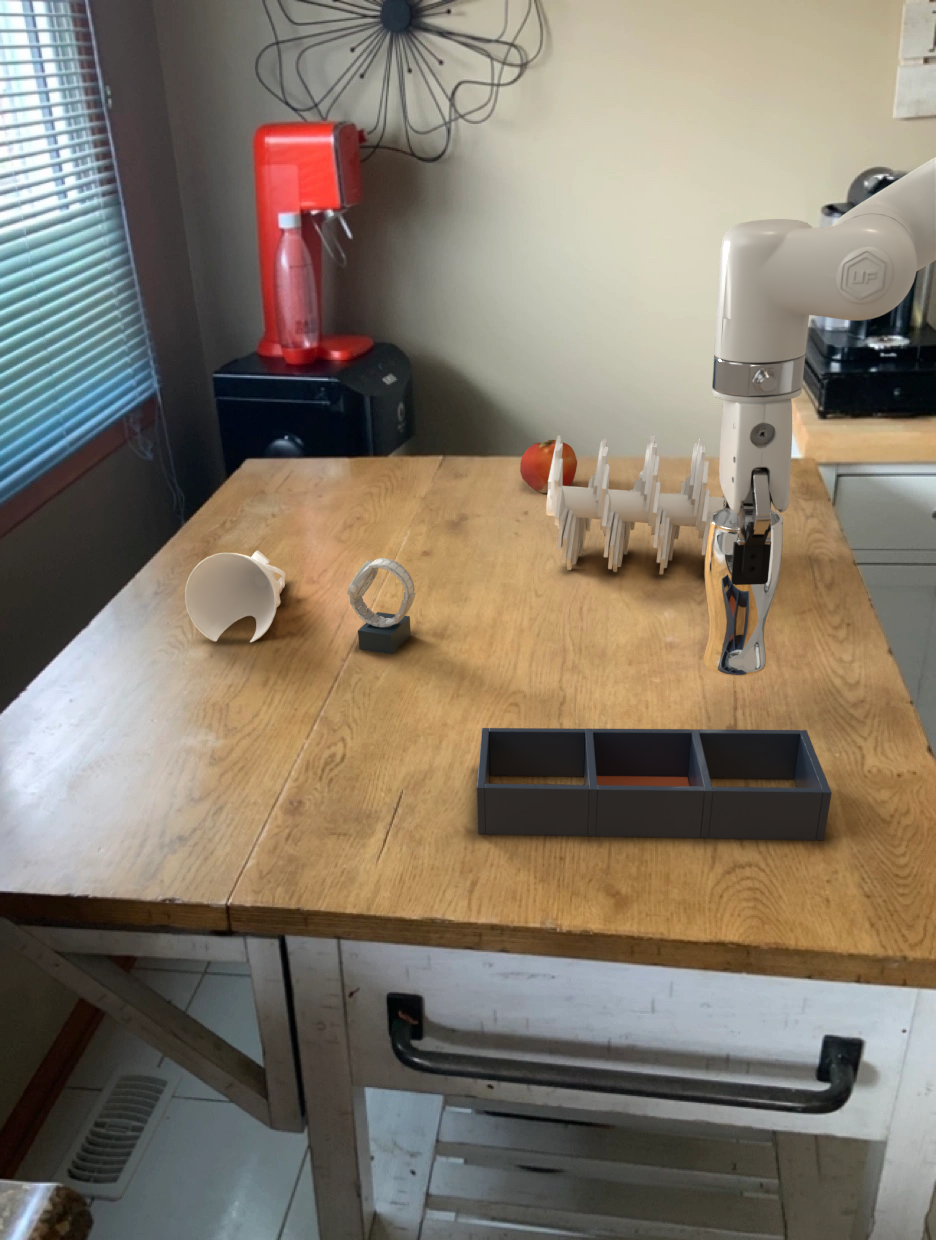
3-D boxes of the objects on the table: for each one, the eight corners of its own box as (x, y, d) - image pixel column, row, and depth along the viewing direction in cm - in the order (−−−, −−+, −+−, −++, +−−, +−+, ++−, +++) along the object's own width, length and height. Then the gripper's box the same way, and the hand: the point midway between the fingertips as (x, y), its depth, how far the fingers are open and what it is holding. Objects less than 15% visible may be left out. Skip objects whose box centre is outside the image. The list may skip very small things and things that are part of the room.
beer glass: (741, 641, 115) (752, 500, 108) (787, 667, 110) (802, 520, 102) (684, 657, 113) (691, 514, 106) (727, 685, 108) (738, 536, 100)
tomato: (581, 496, 180) (582, 447, 176) (523, 500, 180) (523, 450, 176) (572, 478, 188) (573, 431, 184) (517, 482, 188) (516, 434, 184)
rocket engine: (263, 513, 152) (221, 532, 135) (329, 570, 152) (294, 596, 135) (214, 577, 156) (166, 603, 139) (278, 632, 156) (239, 665, 139)
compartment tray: (799, 780, 106) (806, 729, 104) (823, 846, 97) (832, 792, 95) (482, 777, 110) (481, 727, 107) (477, 839, 101) (476, 787, 98)
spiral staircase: (727, 612, 149) (538, 594, 154) (734, 516, 158) (556, 502, 163) (747, 513, 134) (537, 497, 139) (753, 413, 143) (557, 402, 149)
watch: (364, 632, 140) (358, 549, 135) (424, 641, 137) (420, 556, 132) (344, 652, 136) (337, 566, 130) (405, 661, 133) (400, 574, 127)
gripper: (824, 398, 90) (802, 603, 99) (783, 352, 105) (767, 533, 114) (727, 403, 91) (713, 605, 100) (700, 356, 106) (691, 536, 115)
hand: (742, 566), depth 106 cm, fingers closed on beer glass, 7 cm apart
